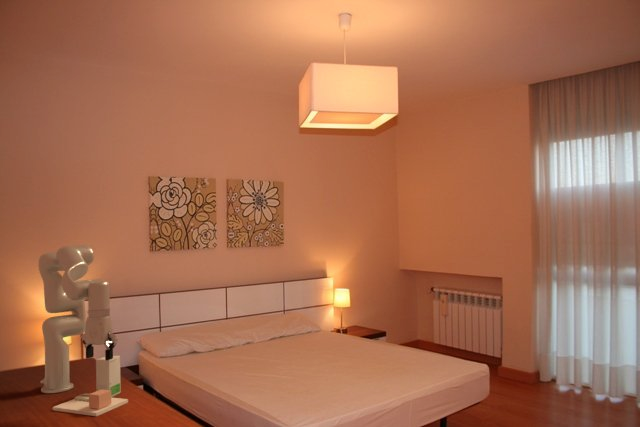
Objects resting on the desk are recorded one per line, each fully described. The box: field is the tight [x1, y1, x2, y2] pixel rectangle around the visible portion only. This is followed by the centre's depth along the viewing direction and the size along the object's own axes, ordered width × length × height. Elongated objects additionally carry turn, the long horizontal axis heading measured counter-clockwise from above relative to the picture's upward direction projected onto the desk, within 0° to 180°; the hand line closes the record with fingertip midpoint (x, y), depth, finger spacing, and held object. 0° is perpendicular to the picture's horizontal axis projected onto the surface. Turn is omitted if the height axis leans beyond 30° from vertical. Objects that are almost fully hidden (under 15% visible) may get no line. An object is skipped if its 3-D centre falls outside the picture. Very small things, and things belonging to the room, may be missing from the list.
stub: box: [88, 390, 111, 409], centre depth 193 cm, size 5×6×5 cm
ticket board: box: [52, 392, 129, 417], centre depth 198 cm, size 22×16×2 cm
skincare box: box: [95, 355, 122, 398], centre depth 211 cm, size 8×7×16 cm
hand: (99, 358), depth 194 cm, fingers open, 9 cm apart
